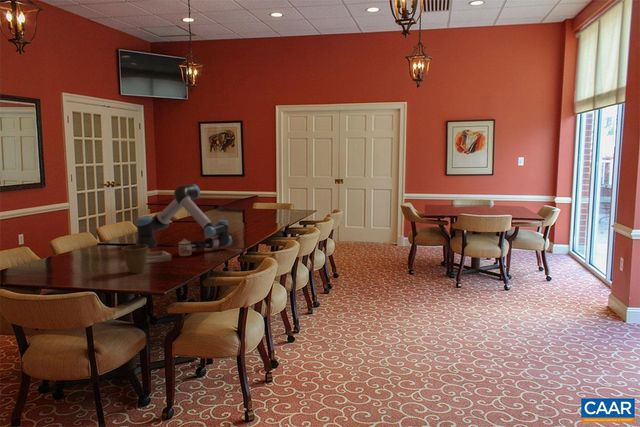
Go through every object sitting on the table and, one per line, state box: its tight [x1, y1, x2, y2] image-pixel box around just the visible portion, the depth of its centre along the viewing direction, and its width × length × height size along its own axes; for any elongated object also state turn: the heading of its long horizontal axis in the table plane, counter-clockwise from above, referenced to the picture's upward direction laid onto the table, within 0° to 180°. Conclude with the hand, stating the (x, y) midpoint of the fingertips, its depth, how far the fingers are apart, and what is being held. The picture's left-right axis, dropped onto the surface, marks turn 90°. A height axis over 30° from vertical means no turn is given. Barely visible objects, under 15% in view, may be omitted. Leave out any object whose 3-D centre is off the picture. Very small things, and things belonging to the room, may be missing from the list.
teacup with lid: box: [177, 238, 196, 257], centre depth 352 cm, size 12×9×12 cm
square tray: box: [145, 250, 173, 265], centre depth 337 cm, size 17×20×4 cm
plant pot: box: [121, 244, 149, 274], centre depth 305 cm, size 15×15×16 cm
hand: (183, 246), depth 351 cm, fingers open, 13 cm apart
